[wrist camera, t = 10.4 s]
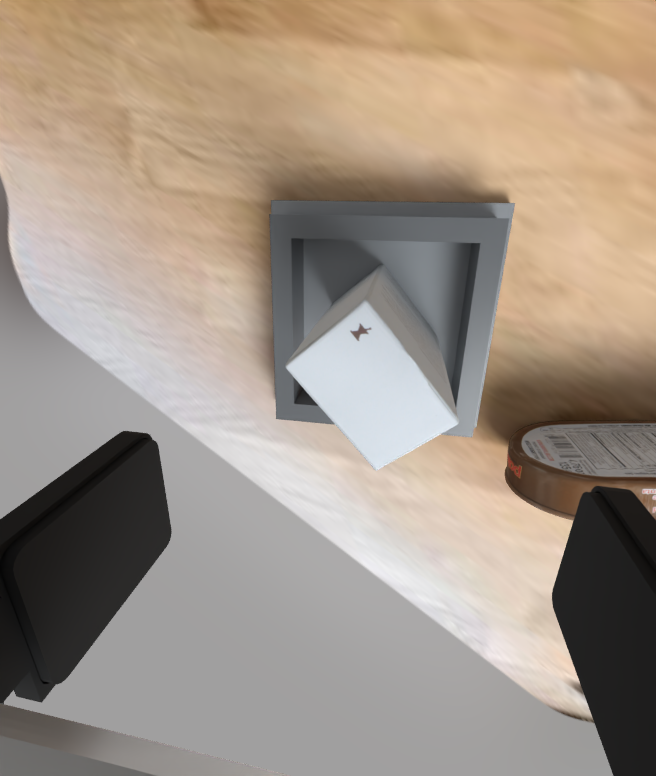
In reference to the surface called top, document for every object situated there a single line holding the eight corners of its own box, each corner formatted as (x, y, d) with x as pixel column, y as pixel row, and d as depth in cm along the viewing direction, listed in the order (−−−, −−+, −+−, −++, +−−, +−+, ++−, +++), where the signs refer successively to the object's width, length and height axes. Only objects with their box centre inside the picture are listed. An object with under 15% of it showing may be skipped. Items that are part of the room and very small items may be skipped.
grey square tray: (510, 203, 24) (529, 201, 20) (473, 421, 29) (483, 450, 26) (275, 200, 26) (254, 197, 22) (281, 404, 31) (265, 428, 28)
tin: (493, 452, 30) (523, 533, 22) (495, 412, 29) (528, 483, 21) (736, 454, 27) (868, 547, 19) (750, 410, 26) (896, 491, 18)
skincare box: (329, 304, 27) (278, 363, 16) (382, 261, 25) (366, 293, 14) (386, 375, 28) (374, 476, 17) (440, 338, 26) (466, 422, 15)
